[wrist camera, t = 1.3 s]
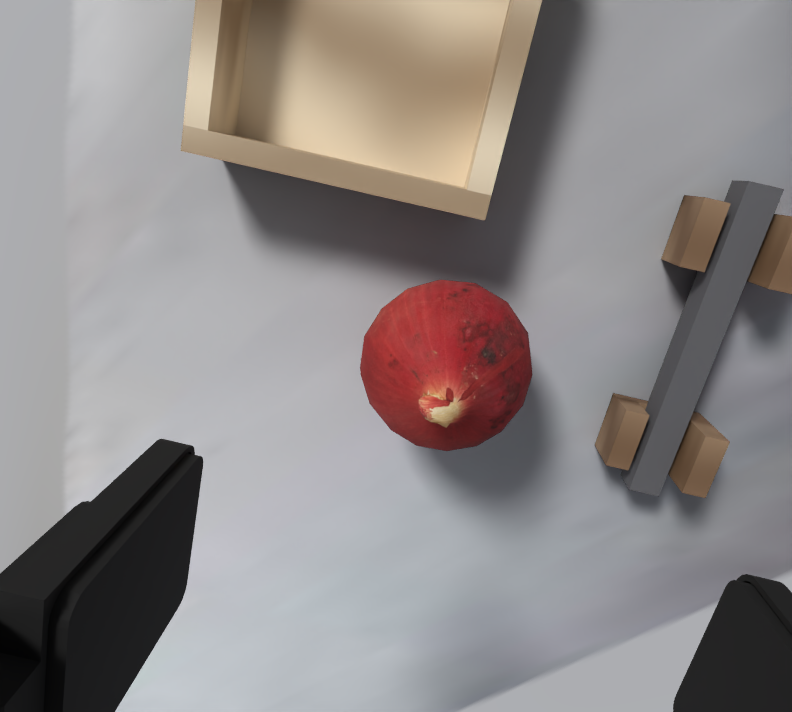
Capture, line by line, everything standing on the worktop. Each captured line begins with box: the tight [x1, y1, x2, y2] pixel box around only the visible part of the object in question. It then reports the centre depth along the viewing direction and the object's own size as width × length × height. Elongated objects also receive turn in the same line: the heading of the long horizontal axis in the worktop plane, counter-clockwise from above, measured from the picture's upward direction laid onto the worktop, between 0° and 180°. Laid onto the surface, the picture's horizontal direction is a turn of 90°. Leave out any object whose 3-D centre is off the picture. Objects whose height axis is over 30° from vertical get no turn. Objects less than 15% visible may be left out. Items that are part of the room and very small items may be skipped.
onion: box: [360, 280, 532, 451], centre depth 20 cm, size 6×6×8 cm
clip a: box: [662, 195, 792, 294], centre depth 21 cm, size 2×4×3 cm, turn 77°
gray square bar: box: [621, 181, 784, 497], centre depth 22 cm, size 12×1×1 cm, turn 168°
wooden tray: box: [181, 0, 542, 220], centre depth 19 cm, size 10×10×4 cm
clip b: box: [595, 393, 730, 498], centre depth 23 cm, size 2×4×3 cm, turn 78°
